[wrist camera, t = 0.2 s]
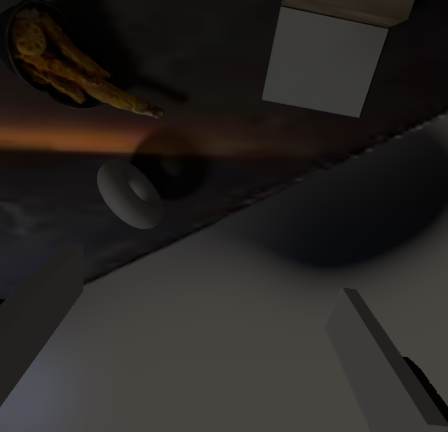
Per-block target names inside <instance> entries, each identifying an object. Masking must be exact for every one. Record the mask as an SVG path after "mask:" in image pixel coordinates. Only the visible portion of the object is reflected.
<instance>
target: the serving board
mask: <svg viewBox="0 0 448 432" xmlns="http://www.w3.org/2000/svg"><path fill="white" fill-rule="evenodd" d="M413 3H414V0H282V3H281V6H285V7H290V8H295V9H300V10H304V11H309V12H314V13H319V14H323V15H328V16H333V17H338V18H343V19H347V20H352V21H357V22H362V23H366V24H371V25H376V26H381V27H385V28H389V27H391V26H393V25H396V24H398V23H400V22H403V21H405V20H408V17H409V14H410V12H411V9H412V6H413Z"/></svg>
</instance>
